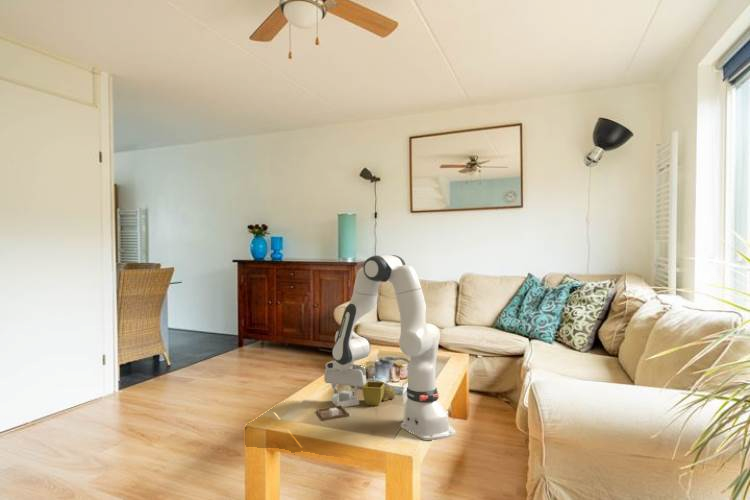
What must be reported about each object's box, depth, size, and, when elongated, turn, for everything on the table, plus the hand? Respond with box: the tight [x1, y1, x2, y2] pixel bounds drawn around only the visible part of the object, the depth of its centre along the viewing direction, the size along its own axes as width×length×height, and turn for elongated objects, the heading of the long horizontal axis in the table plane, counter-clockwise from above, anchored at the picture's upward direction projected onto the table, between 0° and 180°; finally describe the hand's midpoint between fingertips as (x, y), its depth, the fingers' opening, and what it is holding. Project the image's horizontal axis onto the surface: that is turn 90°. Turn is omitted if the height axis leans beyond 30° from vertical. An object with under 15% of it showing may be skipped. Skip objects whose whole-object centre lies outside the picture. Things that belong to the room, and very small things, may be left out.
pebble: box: [338, 390, 353, 402], centre depth 184 cm, size 4×4×4 cm
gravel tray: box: [316, 405, 350, 422], centre depth 170 cm, size 11×11×2 cm
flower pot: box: [361, 380, 386, 406], centre depth 183 cm, size 9×9×9 cm
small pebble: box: [329, 408, 339, 417], centre depth 167 cm, size 3×3×3 cm
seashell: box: [381, 385, 396, 402], centre depth 189 cm, size 10×7×8 cm
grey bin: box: [331, 394, 360, 408], centre depth 184 cm, size 10×10×3 cm
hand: (345, 394), depth 184 cm, fingers open, 8 cm apart
